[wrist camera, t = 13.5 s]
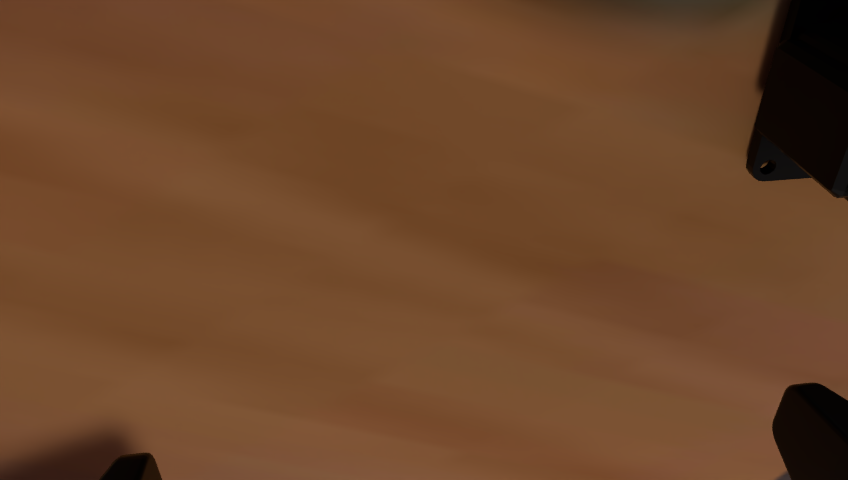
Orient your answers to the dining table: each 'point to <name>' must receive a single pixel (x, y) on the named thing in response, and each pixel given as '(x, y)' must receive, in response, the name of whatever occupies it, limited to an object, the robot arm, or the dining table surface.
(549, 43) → the dining table surface
